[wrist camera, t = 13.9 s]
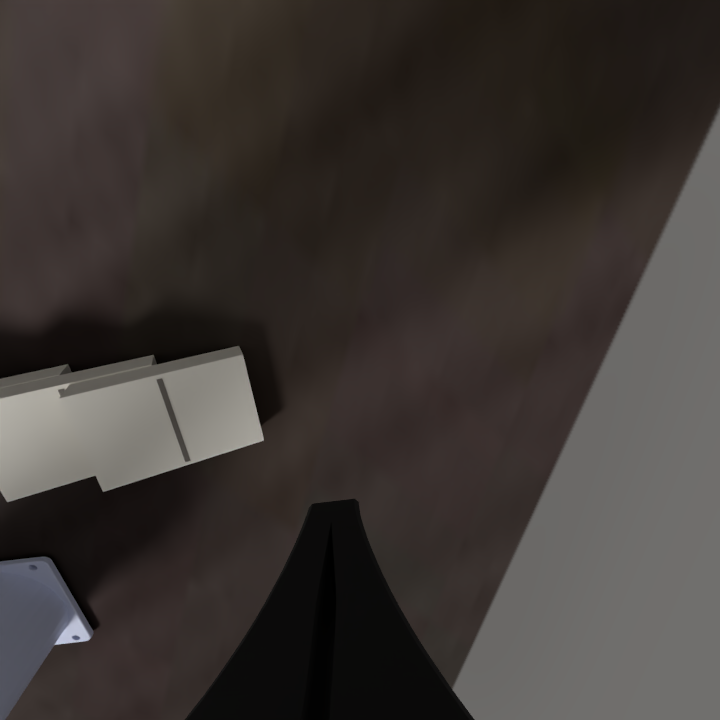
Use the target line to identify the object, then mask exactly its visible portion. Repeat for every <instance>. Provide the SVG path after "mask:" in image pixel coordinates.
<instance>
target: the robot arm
mask: <svg viewBox="0 0 720 720" xmlns="http://www.w3.org/2000/svg"><path fill="white" fill-rule="evenodd" d="M92 635H93V630H92V628H91V626H90V625H89V623H88V621H87V620H86V618H85V616H84V614H83V613H82V611H81V609H80V608H79V606H78V604H77V602H76V601H75V599H74V597H73V595H72V594H71V592H70V590H69V589H68V587H67V585H66V583H65V582H64V580H63V578H62V577H61V575H60V573H59V571H58V570H57V568H56V566H55V565H54V563H53V561H52V560H51V559H50V558H48V557H34V558H26V559H17V560H8V561H0V720H5V719H6V718H7V716H8V715H9V713H10V712H11V710H12V709H13V707H14V706H15V704H16V702H17V701H18V699H19V698H20V696H21V695H22V693H23V692H24V690H25V689H26V687H27V686H28V684H29V683H30V681H31V680H32V678H33V677H34V675H35V674H36V672H37V671H38V669H39V667H40V666H41V664H42V663H43V661H44V660H45V658H46V657H47V655H48V654H49V652H50V651H51V649H52V648H53V646H54V645H56V644H65V643H73V642H82V641H88V640H89V639H90V638H91V637H92ZM185 720H474V719H473V717H472V716H471V715H470V713H469V712H468V710H467V709H466V708H465V706H464V705H463V704H462V702H461V701H460V700H459V699H458V697H457V696H456V694H455V693H454V692H453V690H452V689H451V687H450V686H449V684H448V683H447V681H446V680H445V678H444V677H443V675H442V674H441V672H440V671H439V670H438V668H437V667H436V665H435V664H434V662H433V661H432V659H431V658H430V656H429V655H428V653H427V652H426V650H425V649H424V647H423V646H422V644H421V642H420V641H419V639H418V638H417V636H416V634H415V633H414V631H413V629H412V628H411V626H410V624H409V623H408V621H407V619H406V617H405V616H404V614H403V612H402V611H401V609H400V607H399V605H398V603H397V601H396V600H395V598H394V596H393V594H392V592H391V590H390V588H389V586H388V584H387V582H386V580H385V578H384V576H383V574H382V572H381V570H380V567H379V565H378V563H377V561H376V558H375V556H374V553H373V551H372V549H371V546H370V544H369V541H368V538H367V536H366V533H365V530H364V527H363V523H362V520H361V516H360V509H359V502H358V501H357V500H355V499H349V500H341V501H332V502H323V503H315V504H312V505H311V506H310V507H309V510H308V513H307V516H306V518H305V521H304V524H303V526H302V529H301V531H300V534H299V536H298V538H297V541H296V543H295V545H294V547H293V549H292V552H291V554H290V556H289V558H288V560H287V562H286V564H285V566H284V568H283V570H282V572H281V574H280V576H279V578H278V580H277V582H276V584H275V585H274V587H273V589H272V591H271V593H270V595H269V597H268V598H267V600H266V602H265V604H264V606H263V607H262V609H261V611H260V612H259V614H258V616H257V618H256V619H255V621H254V622H253V624H252V626H251V627H250V629H249V631H248V632H247V634H246V635H245V637H244V638H243V640H242V642H241V643H240V645H239V646H238V648H237V649H236V651H235V652H234V653H233V655H232V656H231V658H230V659H229V661H228V662H227V664H226V665H225V667H224V668H223V669H222V671H221V672H220V674H219V675H218V677H217V678H216V679H215V681H214V682H213V684H212V685H211V686H210V688H209V689H208V690H207V692H206V693H205V695H204V696H203V697H202V698H201V700H200V701H199V702H198V704H197V705H196V706H195V707H194V709H193V710H192V711H191V713H190V714H189V715H188V716H187V718H186V719H185Z"/></svg>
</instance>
